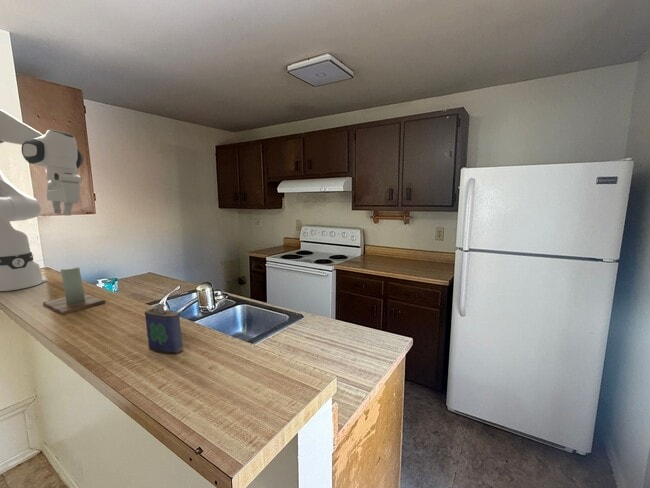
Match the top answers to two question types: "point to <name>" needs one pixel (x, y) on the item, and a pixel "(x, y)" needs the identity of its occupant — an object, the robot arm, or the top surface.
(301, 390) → the top surface
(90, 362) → the top surface
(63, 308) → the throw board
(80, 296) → the green rectangular block
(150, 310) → the flask
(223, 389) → the top surface
